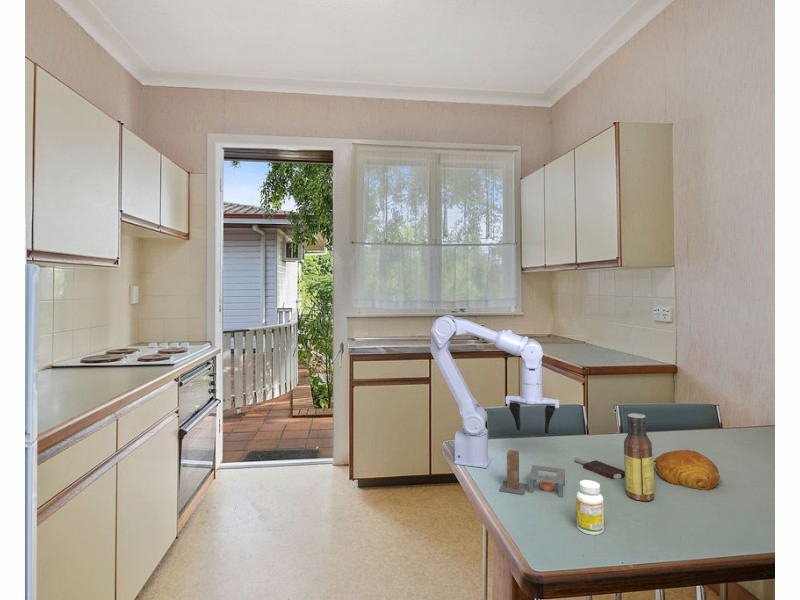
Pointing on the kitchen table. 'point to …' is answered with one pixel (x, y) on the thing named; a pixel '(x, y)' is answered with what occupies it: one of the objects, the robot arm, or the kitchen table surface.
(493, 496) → the kitchen table surface
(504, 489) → the pad
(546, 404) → the robot arm
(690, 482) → the croissant
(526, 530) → the kitchen table surface
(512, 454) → the stylus stick
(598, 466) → the ice cream bar
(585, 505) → the supplement bottle
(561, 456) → the kitchen table surface
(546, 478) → the guard frame
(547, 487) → the button
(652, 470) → the sauce bottle
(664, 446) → the kitchen table surface
